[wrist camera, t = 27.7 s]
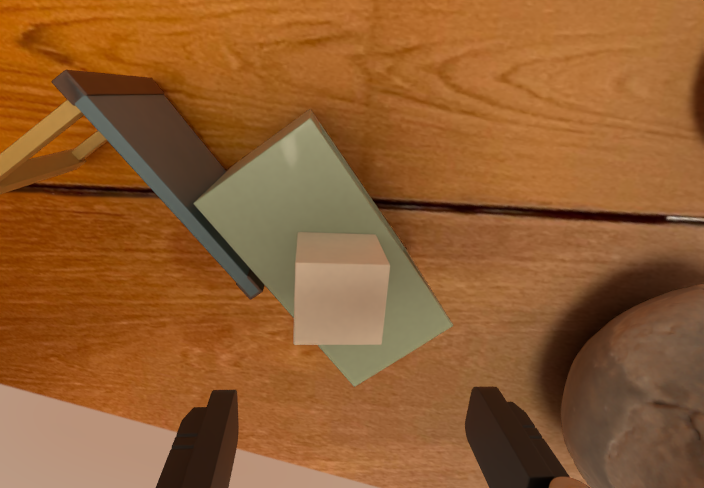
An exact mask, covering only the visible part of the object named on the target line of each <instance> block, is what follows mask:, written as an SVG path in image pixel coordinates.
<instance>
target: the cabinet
mask: <svg viewBox="0 0 704 488" xmlns="http://www.w3.org/2000/svg"><path fill="white" fill-rule="evenodd" d="M194 205H195V206H196V207H197V208H198V210H199V211H200V212H201V213H202V214H203V215H204V216H205V217H206V219H207V220H208V221H209V222H210V223H211V224H212V225H213V227H214V228H215V229H216V230H217V231H218V232H219V233H220V235H221V236H222V237H223V238H224V239H225V240H226V241H227V243H228V244H229V245H230V246H231V247H232V248H233V249H234V250H235V252H236V253H237V254H238V255H239V256H240V257H241V258H242V260H243V261H244V262H245V263H246V264H247V265H248V266H249V268H250V269H251V270H252V271H253V272H254V273H255V274H256V276H257V277H258V278H259V279H260V280H261V281H262V282H263V284H264V285H265V286H266V287H267V288H268V289H269V290H270V291H271V293H272V294H273V295H274V296H275V297H276V298H277V299H278V301H279V302H280V303H281V304H282V305H283V306H284V307H285V309H286V310H287V311H288V312H289V313H290V314H291V315H292V317H293V318H294V293H295V259H296V247H297V235H298V232H315V233H346V234H375V235H376V236H377V238H378V241H379V243H380V245H381V247H382V249H383V251H384V253H385V256H386V258H387V260H388V262H389V264H390V272H389V281H388V291H387V300H386V309H385V318H384V327H383V337H382V344H381V345H318V346H319V347H320V348H321V350H322V351H323V352H324V353H325V354H326V355H327V356H328V357H329V359H330V360H331V361H332V362H333V363H334V364H335V365H336V367H337V368H338V369H339V370H340V371H341V372H342V373H343V375H344V376H345V377H346V378H347V379H348V380H349V381H350V383H351V384H352V385H353V386H354V387H355V386H357V385H358V384H360V383H362V382H363V381H365V380H366V379H368V378H370V377H371V376H373V375H375V374H376V373H378V372H379V371H381V370H383V369H384V368H386V367H387V366H389V365H391V364H392V363H394V362H396V361H397V360H399V359H400V358H402V357H404V356H405V355H407V354H408V353H410V352H412V351H413V350H415V349H417V348H418V347H420V346H421V345H423V344H425V343H426V342H428V341H429V340H431V339H433V338H434V337H436V336H438V335H439V334H441V333H442V332H444V331H446V330H447V329H449V328H450V327H452V326H453V324H452V322H451V321H450V319H449V317H448V316H447V314H446V313H445V311H444V309H443V308H442V306H441V304H440V303H439V301H438V300H437V298H436V296H435V295H434V293H433V292H432V290H431V288H430V287H429V285H428V283H427V282H426V280H425V279H424V277H423V275H422V274H421V272H420V271H419V269H418V267H417V266H416V264H415V262H414V261H413V259H412V258H411V256H410V254H409V253H408V251H407V250H406V248H405V247H404V245H403V244H402V243H401V241H400V240H399V238H398V237H397V235H396V234H395V232H394V231H393V229H392V228H391V226H390V225H389V223H388V222H387V221H386V219H385V218H384V216H383V215H382V213H381V212H380V210H379V209H378V207H377V206H376V204H375V203H374V201H373V200H372V199H371V197H370V196H369V194H368V193H367V191H366V190H365V188H364V187H363V185H362V184H361V182H360V181H359V179H358V178H357V176H356V175H355V174H354V172H353V171H352V169H351V168H350V166H349V165H348V163H347V162H346V160H345V159H344V157H343V156H342V154H341V153H340V152H339V150H338V149H337V147H336V146H335V144H334V143H333V141H332V140H331V138H330V137H329V135H328V134H327V132H326V131H325V130H324V128H323V127H322V125H321V124H320V122H319V121H318V119H317V118H316V116H315V115H314V113H313V112H312V110H311V109H309V110H308V111H306V112H305V113H304V114H302V115H301V116H299V117H298V118H297V119H295V120H294V121H293V122H291V123H290V124H289V125H287V126H286V127H284V128H283V129H282V130H280V131H279V132H278V133H276V134H275V135H274V136H272V137H271V138H269V139H268V140H267V141H265V142H264V143H263V144H261V145H260V146H259V147H257V148H256V149H254V150H253V151H252V152H250V153H249V154H248V155H246V156H245V157H244V158H242V159H241V160H239V161H238V162H237V163H235V164H234V165H233V166H231V167H230V168H229V169H227V170H226V173H225V174H224V175H222V176H221V177H220V178H219V179H218V180H217V181H216V182H215V183H214V184H213V185H212V186H211V187H210V188H209V189H208V190H207V191H206V192H204V193H203V194H202V195H201V196H200V197H199V198H198V199H197V200H196V201H195V202H194Z"/></svg>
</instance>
